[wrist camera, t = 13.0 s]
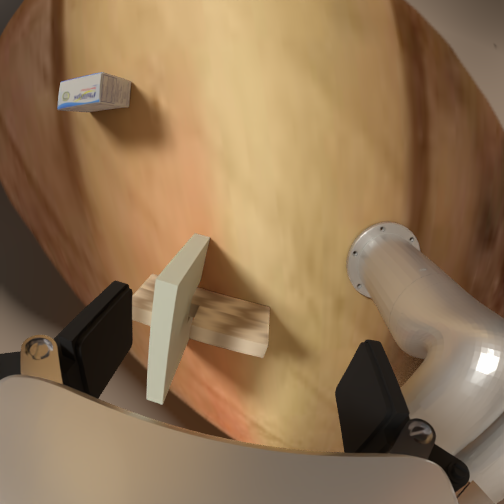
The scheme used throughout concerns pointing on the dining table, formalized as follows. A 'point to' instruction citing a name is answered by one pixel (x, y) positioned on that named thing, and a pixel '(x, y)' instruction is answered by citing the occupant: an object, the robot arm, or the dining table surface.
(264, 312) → the maple board
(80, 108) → the medicine box
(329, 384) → the dining table surface
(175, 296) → the sage plate
